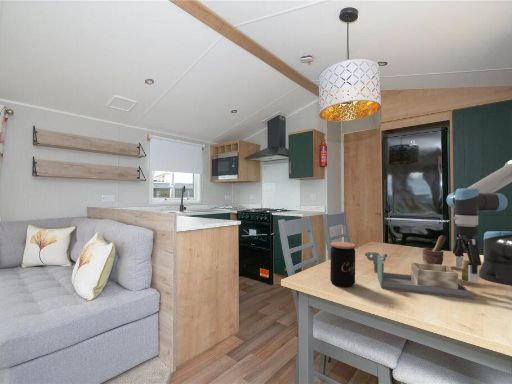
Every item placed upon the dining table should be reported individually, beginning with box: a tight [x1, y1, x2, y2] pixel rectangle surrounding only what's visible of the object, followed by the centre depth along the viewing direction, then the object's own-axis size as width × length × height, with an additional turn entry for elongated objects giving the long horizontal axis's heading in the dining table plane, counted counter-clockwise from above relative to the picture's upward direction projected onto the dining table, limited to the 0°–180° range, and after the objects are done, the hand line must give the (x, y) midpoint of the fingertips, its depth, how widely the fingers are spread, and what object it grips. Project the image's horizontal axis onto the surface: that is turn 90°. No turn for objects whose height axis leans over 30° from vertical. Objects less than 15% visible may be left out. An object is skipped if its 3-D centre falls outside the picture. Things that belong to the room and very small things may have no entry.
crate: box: [410, 259, 470, 289], centre depth 110 cm, size 20×12×12 cm, turn 71°
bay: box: [377, 254, 473, 300], centre depth 113 cm, size 32×15×11 cm, turn 71°
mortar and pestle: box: [421, 234, 447, 265], centre depth 129 cm, size 12×9×20 cm
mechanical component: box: [364, 251, 388, 274], centre depth 133 cm, size 3×10×10 cm, turn 79°
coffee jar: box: [329, 241, 356, 288], centre depth 117 cm, size 11×11×18 cm
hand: (465, 276), depth 108 cm, fingers open, 13 cm apart
